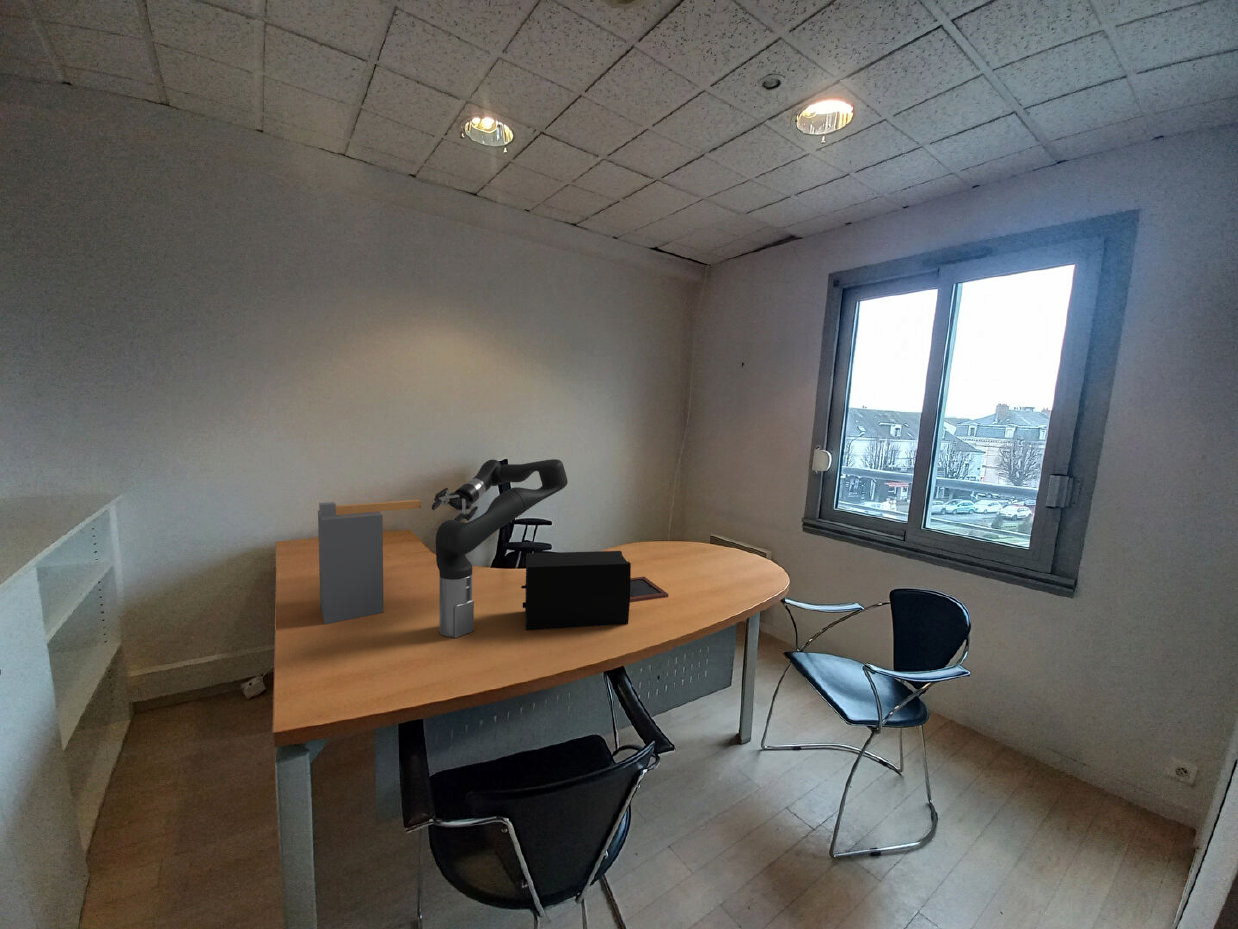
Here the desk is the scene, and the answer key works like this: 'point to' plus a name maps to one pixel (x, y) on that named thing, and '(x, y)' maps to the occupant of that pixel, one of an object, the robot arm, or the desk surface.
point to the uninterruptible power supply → (576, 589)
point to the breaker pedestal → (350, 565)
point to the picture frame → (645, 590)
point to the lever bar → (366, 507)
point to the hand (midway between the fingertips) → (443, 514)
